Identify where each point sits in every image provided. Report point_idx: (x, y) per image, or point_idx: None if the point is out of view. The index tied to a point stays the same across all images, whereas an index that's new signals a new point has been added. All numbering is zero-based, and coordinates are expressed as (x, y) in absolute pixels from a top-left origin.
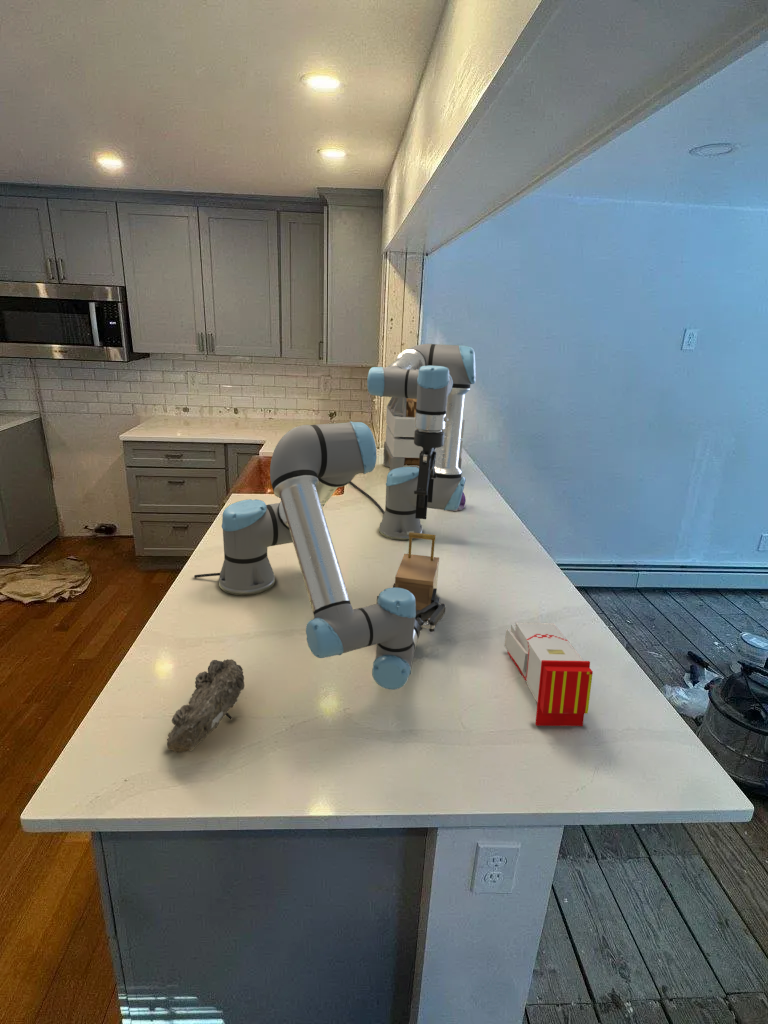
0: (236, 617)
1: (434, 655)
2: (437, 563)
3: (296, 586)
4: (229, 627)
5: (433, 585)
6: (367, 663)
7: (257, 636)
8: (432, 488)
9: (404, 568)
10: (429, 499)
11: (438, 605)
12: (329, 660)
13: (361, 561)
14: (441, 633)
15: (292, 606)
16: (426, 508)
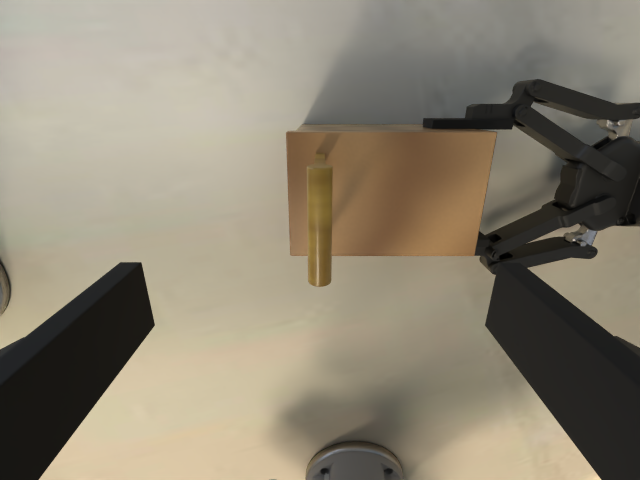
0: (472, 451)
1: (598, 96)
2: (342, 133)
3: (345, 408)
4: (504, 450)
5: (474, 130)
6: (620, 231)
7: (529, 411)
8: (61, 334)
9: (408, 239)
10: (134, 290)
11: (526, 103)
12: (606, 296)
13: (183, 328)
14: (501, 88)
15: (423, 394)
16: (576, 309)
